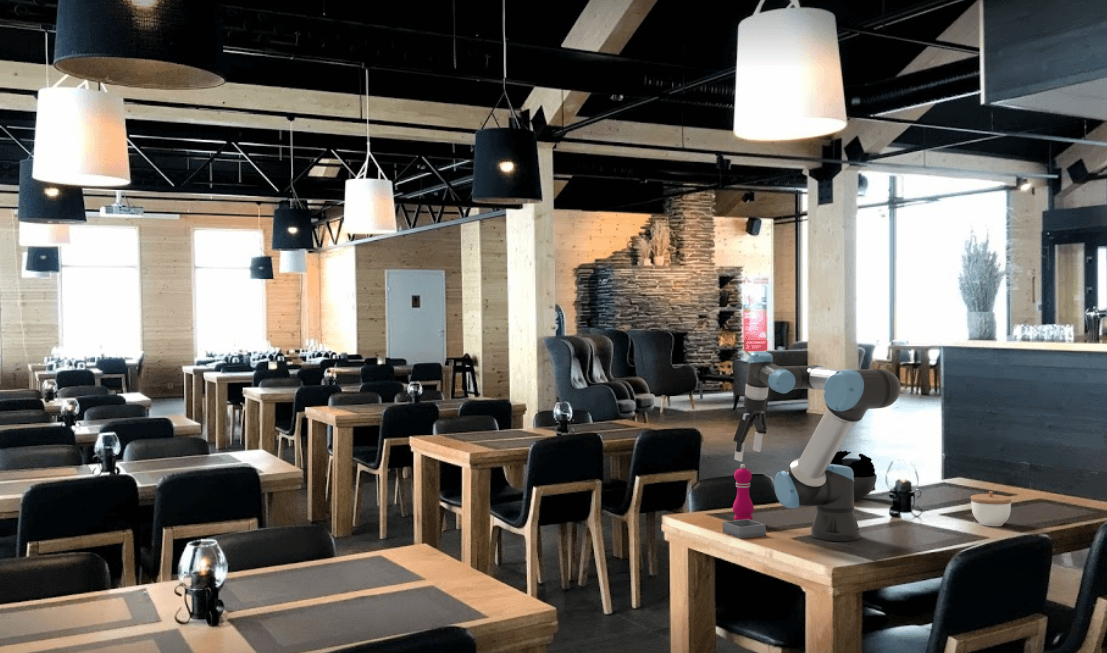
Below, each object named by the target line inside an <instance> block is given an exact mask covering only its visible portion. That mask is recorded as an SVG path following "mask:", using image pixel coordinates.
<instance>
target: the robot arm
mask: <svg viewBox="0 0 1107 653" xmlns="http://www.w3.org/2000/svg"><path fill="white" fill-rule="evenodd" d="M773 359H774V357H773V354H772V353H770V352H767V351H763V350H762V351H761V350H758V351H755V350H754V351H753V352H751V353H750V356H749V360H748V368H747V375H746V384H745V385H744V386H745V392H744V394H745V395H744V397H743V405H742V406H743V407H744V408H745V410H746V412H745V413H743V412H742V413H741V415H740V420H739V422H738V425H737V429H736V431H735V434H734V437H733V441H734V442H735V451H734V459H733V460H734V461H735V460H736V461H738V462H743V461H744V460H743V459H744V453H745V452H744V451H745V446H746V445H745V444H746V442H745V440H746V438H747V436H748V434H749V431H750V430H751V427H753V426H754V428H755V432H754V437H753V443H752V444H753V445H752V451H755V452H758V453H760V452H761V450H762V444H763V439H764V438H763V436H764V435H766V434H767V430H768V424H767V416H766V408H767V402H768V399H767V398H768V395H769V388H770V389H771V390H772V391H775V392H776V393H777V392H778V393H780V394H787V393H789V392H790V391H792V390H798V389H801V390H802V389H807V390H808V389H810V390H817V391H824V392H823V400H824V402H825V407H826V410H825V412H824V413H823V415H822V417H821V419H820V420H819V422H818V424H817V426H816V428H815V430H814V432H812V436H811V437H810V438H809V441H808V443H807V444H806V446H805V448H804V450H803V451H802V454H801V455H800V457H799V458H795V459H794V460H792V462H791V463H790V465H789V467H788V468H787V470H780V471H779V472H777V473H776V475H775V477H774V482H773V484H774V487H773V488H774V492H775V495H776V498H777V500H778V502H779V503H780V504H781V505H782V507H784V508H786V509H798V508H799V509H800V508H801V509H802V508H808V507H816V513H815V515H814V518H813V523H812V526H811V529H810V536H811V537H813V538H816V539H817V540H822V541H829V542H830V541H831V542H850V541H856V540H858V539H860V538H861V530H860V528H859V524H858V521H857V517H856V515H855V500H854V475H853V470H852V469H851V468H850V467H847V466H848V465H846V466H845V465H844V466H842V465H835V464H830V463H831V461H832V459H833V457H834V456H835V454H836V452H838V450H839V448H840V447H841V445H842V443H843V442H844V440H845V438H846V437H847V435H848V433H849V431H850V429H851V427H853V424H854V423H858V422H860V421H861V420H862V419H863V418H864V415H865V414H866V412H867V411H868V410H873V409H876V410H877V409H884V408H887V407H890V406H891V405H893V404H894V403H895V402H897V400H898V399H899V397H900V394H901V389H902V388H901V382H900V379H899V378H898V376H896V374H895V373H893V372H891V371H890V370H887V369H883V368H869V369H865V368H864V369H852V368H851V369H850V368H847V369H840V368H832V367H825V366H823V365H817V364H816V365H815V364H811V365H792V366H790V365H789V366H779V365H778V364H777V365H776V364H775V363H773V362H774V360H773Z"/></svg>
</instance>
